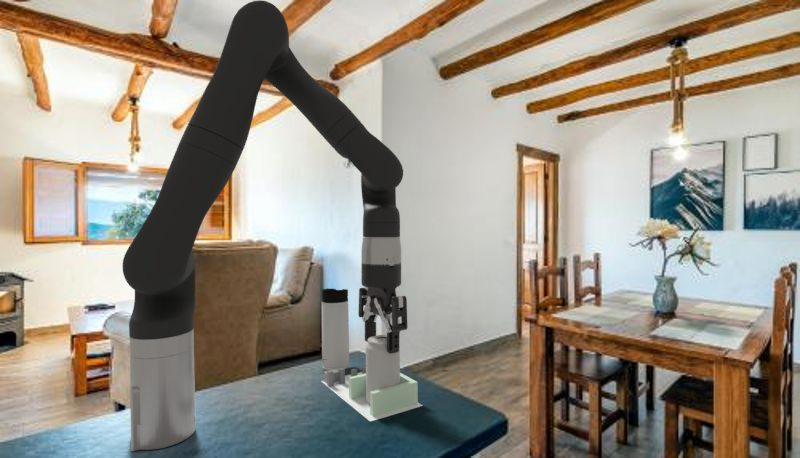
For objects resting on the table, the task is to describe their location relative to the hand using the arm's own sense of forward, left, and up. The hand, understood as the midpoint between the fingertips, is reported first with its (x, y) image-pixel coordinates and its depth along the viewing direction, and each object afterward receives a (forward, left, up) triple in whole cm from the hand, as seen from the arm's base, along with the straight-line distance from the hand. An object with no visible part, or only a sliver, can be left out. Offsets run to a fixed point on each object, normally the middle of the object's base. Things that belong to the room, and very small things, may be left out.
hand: (381, 346), depth 79 cm
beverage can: (0, -1, -11) cm, 11 cm away
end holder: (0, 0, -10) cm, 10 cm away
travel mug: (+1, +23, -12) cm, 26 cm away
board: (0, +5, -12) cm, 13 cm away
